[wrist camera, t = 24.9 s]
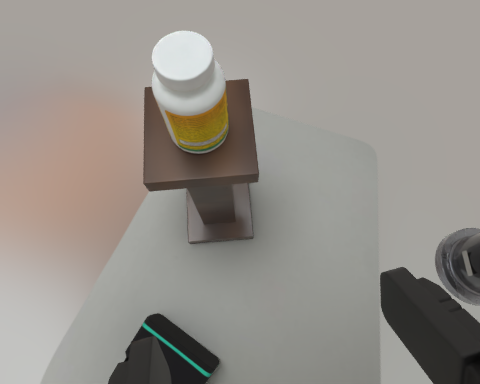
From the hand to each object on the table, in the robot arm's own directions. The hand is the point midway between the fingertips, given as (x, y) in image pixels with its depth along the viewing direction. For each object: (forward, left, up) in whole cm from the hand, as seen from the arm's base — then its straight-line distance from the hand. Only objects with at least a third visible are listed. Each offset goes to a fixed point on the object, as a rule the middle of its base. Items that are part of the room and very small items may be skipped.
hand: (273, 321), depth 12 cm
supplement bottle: (+4, -16, -15) cm, 23 cm away
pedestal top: (+4, -17, -17) cm, 24 cm away
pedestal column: (+4, -17, -41) cm, 44 cm away
